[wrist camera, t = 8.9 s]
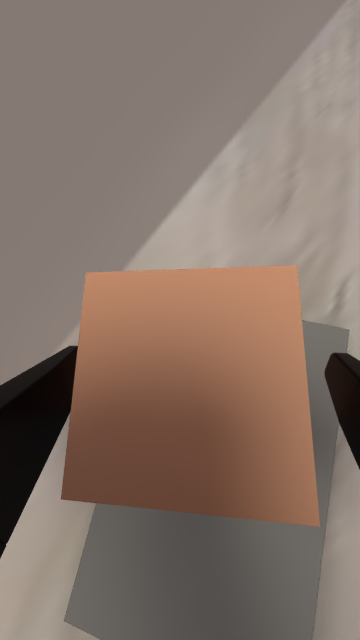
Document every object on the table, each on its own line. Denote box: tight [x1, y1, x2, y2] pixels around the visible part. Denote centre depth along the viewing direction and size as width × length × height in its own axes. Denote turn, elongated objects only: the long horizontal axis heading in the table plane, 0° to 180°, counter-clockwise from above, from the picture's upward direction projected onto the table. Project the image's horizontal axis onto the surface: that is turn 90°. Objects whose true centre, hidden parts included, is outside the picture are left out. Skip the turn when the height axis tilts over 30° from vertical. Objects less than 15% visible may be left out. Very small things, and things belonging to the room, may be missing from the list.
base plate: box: [64, 320, 349, 640], centre depth 14 cm, size 22×14×4 cm, turn 166°
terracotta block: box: [61, 265, 320, 527], centre depth 10 cm, size 4×4×12 cm
